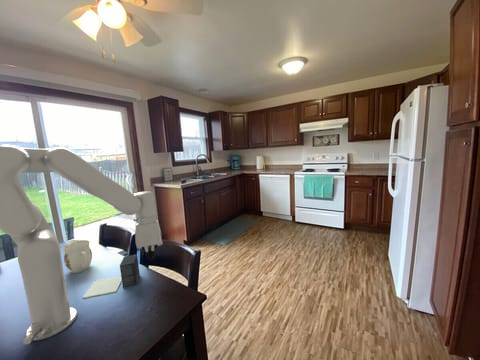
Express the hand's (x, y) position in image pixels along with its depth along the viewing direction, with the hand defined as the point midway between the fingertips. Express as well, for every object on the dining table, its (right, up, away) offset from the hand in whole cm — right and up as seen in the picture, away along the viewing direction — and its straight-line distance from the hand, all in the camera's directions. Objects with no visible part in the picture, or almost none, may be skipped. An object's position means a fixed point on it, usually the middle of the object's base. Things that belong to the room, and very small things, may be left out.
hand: (151, 258), depth 93 cm
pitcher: (-40, -10, +11) cm, 43 cm away
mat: (-18, -11, -4) cm, 22 cm away
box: (-8, -10, -1) cm, 13 cm away
